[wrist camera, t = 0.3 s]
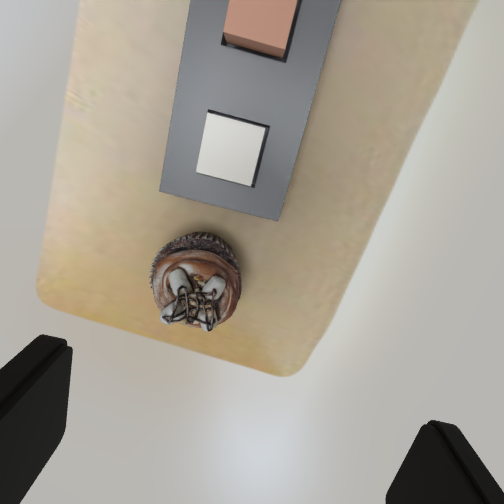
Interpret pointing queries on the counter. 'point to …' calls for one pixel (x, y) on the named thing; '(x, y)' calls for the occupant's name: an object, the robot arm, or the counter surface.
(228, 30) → the terracotta key
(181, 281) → the cupcake
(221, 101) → the key panel
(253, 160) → the off-white key
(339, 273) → the counter surface
